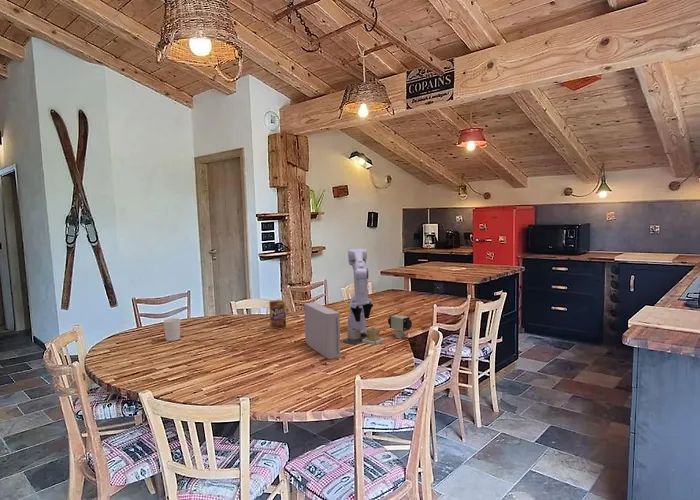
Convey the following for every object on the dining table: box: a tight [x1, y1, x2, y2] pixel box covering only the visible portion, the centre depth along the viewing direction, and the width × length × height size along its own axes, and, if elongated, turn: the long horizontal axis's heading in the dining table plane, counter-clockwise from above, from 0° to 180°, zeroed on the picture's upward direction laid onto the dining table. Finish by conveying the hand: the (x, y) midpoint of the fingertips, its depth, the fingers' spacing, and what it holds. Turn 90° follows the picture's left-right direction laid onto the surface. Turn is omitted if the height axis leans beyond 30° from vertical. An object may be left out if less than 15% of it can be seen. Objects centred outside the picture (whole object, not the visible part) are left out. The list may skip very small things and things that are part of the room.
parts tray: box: [361, 337, 386, 346], centre depth 221 cm, size 8×8×2 cm
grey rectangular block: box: [346, 328, 361, 341], centre depth 222 cm, size 4×4×6 cm
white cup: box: [163, 317, 181, 342], centre depth 233 cm, size 8×8×10 cm
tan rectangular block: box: [366, 327, 381, 342], centre depth 221 cm, size 4×4×6 cm
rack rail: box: [342, 331, 367, 346], centre depth 225 cm, size 7×17×2 cm, turn 143°
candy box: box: [269, 299, 287, 330], centre depth 251 cm, size 9×4×15 cm, turn 98°
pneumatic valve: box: [387, 313, 413, 339], centre depth 228 cm, size 6×12×12 cm, turn 46°
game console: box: [303, 301, 341, 360], centre depth 209 cm, size 6×27×20 cm, turn 27°
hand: (362, 319), depth 224 cm, fingers open, 7 cm apart
